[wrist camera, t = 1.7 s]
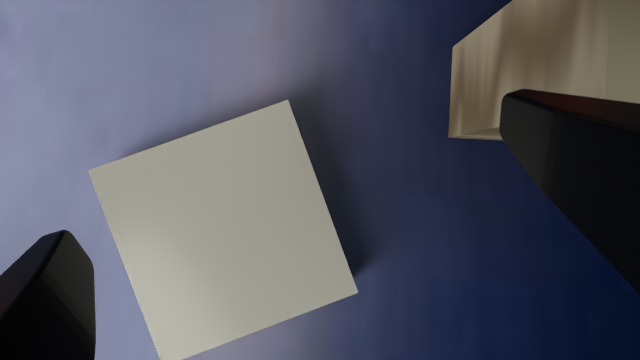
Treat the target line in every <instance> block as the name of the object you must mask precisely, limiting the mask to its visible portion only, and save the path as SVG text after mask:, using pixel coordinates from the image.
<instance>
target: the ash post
mask: <svg viewBox="0 0 640 360" xmlns="http://www.w3.org/2000/svg"><path fill="white" fill-rule="evenodd" d="M519 89H531V90H539V91H547V92H554V93H562V94H570V95H577V96H585V97H593V98H600V99H608V100H616V101H624V102H631V103H639V104H640V0H512V1H511V2H510V3H508V4H507V5H506V6H505V7H503V8H502V9H501V10H500V11H498V12H497V13H496V14H494V15H493V16H492V17H491V18H489V19H488V20H487V21H485V22H484V23H483V24H482V25H480V26H479V27H478V28H477V29H475V30H474V31H473V32H471V33H470V34H469V35H468V36H466V37H465V38H464V39H462V40H461V41H460V42H459V43H457V44H456V45H455V46H454V47H453V53H452V74H451V94H450V115H449V135H448V138H466V139H486V140H503V139H502V137H501V135H500V131H499V124H500V112H501V102H502V98H503V96H504V95H505V94H507V93H510V92H513V91H516V90H519Z"/></svg>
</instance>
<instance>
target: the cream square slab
mask: <svg viewBox="0 0 640 360" xmlns="http://www.w3.org/2000/svg"><path fill="white" fill-rule="evenodd" d="M88 172H89V175H90V177H91V180H92V183H93V185H94V188H95V190H96V193H97V196H98V198H99V201H100V203H101V206H102V209H103V211H104V214H105V217H106V219H107V222H108V224H109V227H110V230H111V232H112V235H113V237H114V240H115V243H116V245H117V248H118V250H119V253H120V256H121V258H122V261H123V263H124V266H125V269H126V271H127V274H128V277H129V279H130V282H131V284H132V287H133V290H134V292H135V295H136V297H137V300H138V303H139V305H140V308H141V310H142V313H143V316H144V318H145V321H146V323H147V326H148V329H149V331H150V334H151V337H152V339H153V342H154V344H155V347H156V350H157V352H158V355H159V357H160V360H183V359H185V358H188V357H191V356H193V355H196V354H198V353H201V352H204V351H206V350H209V349H212V348H214V347H217V346H219V345H222V344H225V343H227V342H230V341H233V340H235V339H238V338H240V337H243V336H246V335H248V334H251V333H254V332H256V331H259V330H261V329H264V328H267V327H269V326H272V325H275V324H277V323H280V322H282V321H285V320H288V319H290V318H293V317H296V316H298V315H301V314H303V313H306V312H309V311H311V310H314V309H317V308H319V307H322V306H324V305H327V304H330V303H332V302H335V301H338V300H340V299H343V298H345V297H348V296H351V295H353V294H356V293H358V291H357V288H356V285H355V282H354V280H353V277H352V274H351V271H350V269H349V266H348V263H347V260H346V258H345V255H344V252H343V249H342V247H341V244H340V241H339V238H338V236H337V233H336V230H335V227H334V225H333V222H332V219H331V216H330V214H329V211H328V208H327V206H326V203H325V200H324V197H323V195H322V192H321V189H320V186H319V184H318V181H317V178H316V175H315V173H314V170H313V167H312V164H311V162H310V159H309V156H308V153H307V151H306V148H305V145H304V142H303V140H302V137H301V134H300V131H299V129H298V126H297V123H296V120H295V118H294V115H293V112H292V109H291V107H290V104H289V101H288V100H285V101H282V102H280V103H277V104H274V105H271V106H268V107H265V108H263V109H260V110H257V111H254V112H251V113H249V114H246V115H243V116H240V117H237V118H234V119H232V120H229V121H226V122H223V123H220V124H218V125H215V126H212V127H209V128H206V129H204V130H201V131H198V132H195V133H192V134H189V135H187V136H184V137H181V138H178V139H175V140H173V141H170V142H167V143H164V144H161V145H158V146H156V147H153V148H150V149H147V150H144V151H142V152H139V153H136V154H133V155H130V156H128V157H125V158H122V159H119V160H116V161H113V162H111V163H108V164H105V165H102V166H99V167H97V168H94V169H91V170H88Z"/></svg>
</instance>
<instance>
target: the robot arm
mask: <svg viewBox="0 0 640 360" xmlns="http://www.w3.org/2000/svg"><path fill="white" fill-rule="evenodd" d="M499 131H500V135H501V137H502V139H503V141H504V142H505V143H506V145H507V146H508V147H509V149H510V150H511V151H512V153H513V154H514V155H515V157H516V158H517V159H518V161H519V162H520V163H521V165H522V166H523V167H524V168H525V170H526V171H527V172H528V174H529V175H530V176H531V178H532V179H533V180H534V182H535V183H536V184H537V185H538V187H539V188H540V189H541V190H542V191H543V192H544V194H545V195H546V196H547V197H548V198H549V199H550V200H551V201H552V202H553V203H554V204H555V205H556V206H557V208H558V209H559V210H560V211H561V212H562V213H563V214H564V215H565V216H566V217H567V218H568V219H569V220H570V221H571V222H572V223H573V224H574V225H575V227H576V228H577V229H578V230H579V231H580V232H581V233H582V234H583V235H584V236H585V237H586V238H587V239H588V240H589V241H590V242H591V243H592V245H593V246H594V247H595V248H596V249H597V250H598V251H599V252H600V253H601V254H602V255H603V256H604V257H605V258H606V259H607V260H608V261H609V262H610V264H611V265H612V266H613V267H614V268H615V269H616V270H617V271H618V272H619V273H620V274H621V275H622V276H623V277H624V278H625V279H626V280H627V281H628V283H629V284H630V285H631V286H632V287H633V288H634V289H635V290H636V291H637V292H638V293H639V294H640V104H639V103H631V102H624V101H616V100H608V99H600V98H593V97H585V96H577V95H570V94H562V93H554V92H547V91H539V90H531V89H519V90H516V91H513V92H510V93H507V94H505V95H504V96H503V98H502V102H501V112H500V124H499ZM95 345H96V320H95V290H94V268H93V264H92V262H91V260H90V258H89V257H88V255H87V254H86V252H85V251H84V250H83V248H82V247H81V245H80V244H79V243H78V241H77V240H76V239H75V237H74V236H73V235H72V233H70V232H69V231H67V230H61V231H57V232H54V233H51V234H48V235H45V236H43V237H41V238H40V239H39V240H38V241H37V242H36V243H35V244H34V245H32V246H31V247H30V248H29V249H28V250H27V251H26V252H25V253H24V254H23V255H22V256H21V257H20V258H19V259H18V260H16V261H15V262H14V263H13V264H12V265H11V266H10V267H9V268H8V269H7V270H6V271H5V272H4V273H3V274H2V275H1V276H0V360H94V358H95Z"/></svg>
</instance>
